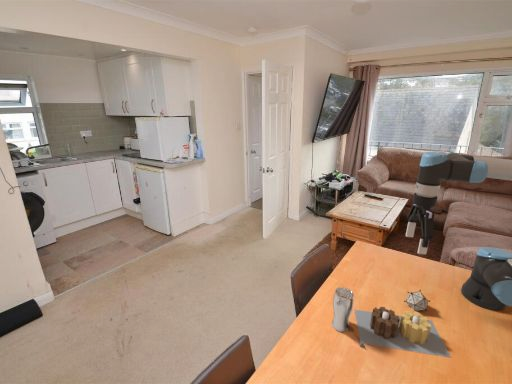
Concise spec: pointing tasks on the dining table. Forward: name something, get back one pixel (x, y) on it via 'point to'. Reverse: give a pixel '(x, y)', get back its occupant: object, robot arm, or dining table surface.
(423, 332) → the gear
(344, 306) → the beer glass
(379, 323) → the walnut gear
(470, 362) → the dining table surface
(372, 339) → the gear board
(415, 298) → the game die
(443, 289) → the dining table surface
